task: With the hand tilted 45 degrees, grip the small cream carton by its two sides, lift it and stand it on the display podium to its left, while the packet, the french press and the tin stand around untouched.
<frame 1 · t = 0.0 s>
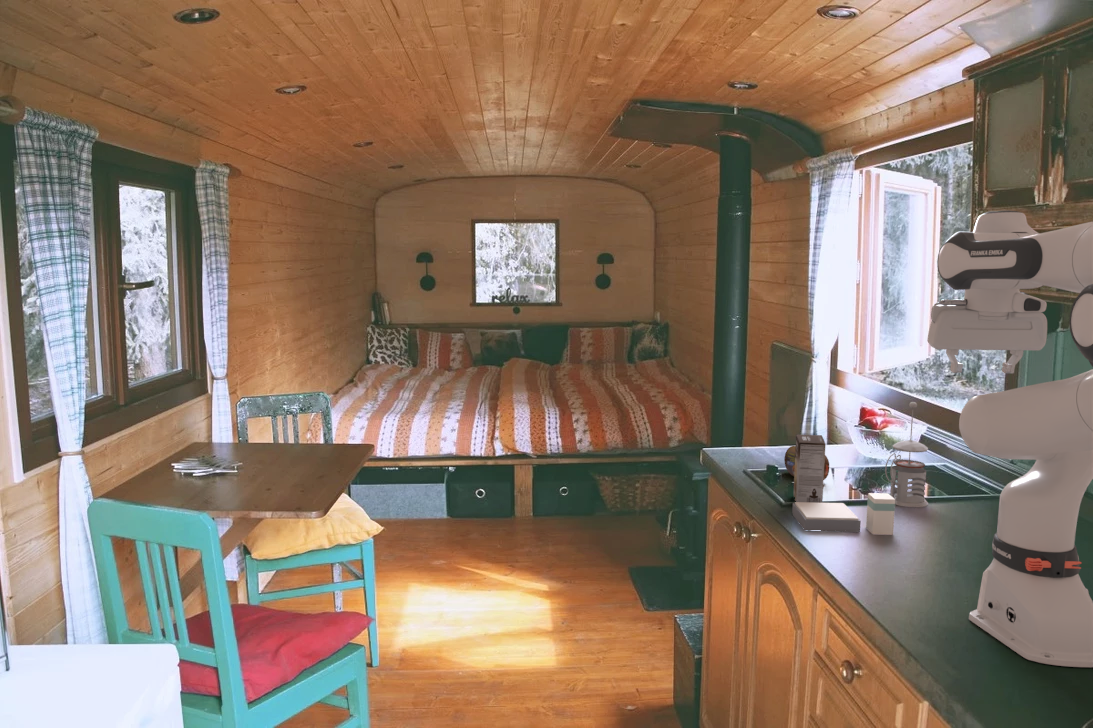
hand: (981, 372, 156), 39 cm above the counter, tool pointing down, fingers open, 8 cm apart
french press: (904, 502, 206), on the counter
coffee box: (807, 502, 205), on the counter
carton: (879, 531, 184), on the counter
tin: (806, 479, 227), on the counter
podium: (825, 522, 189), on the counter
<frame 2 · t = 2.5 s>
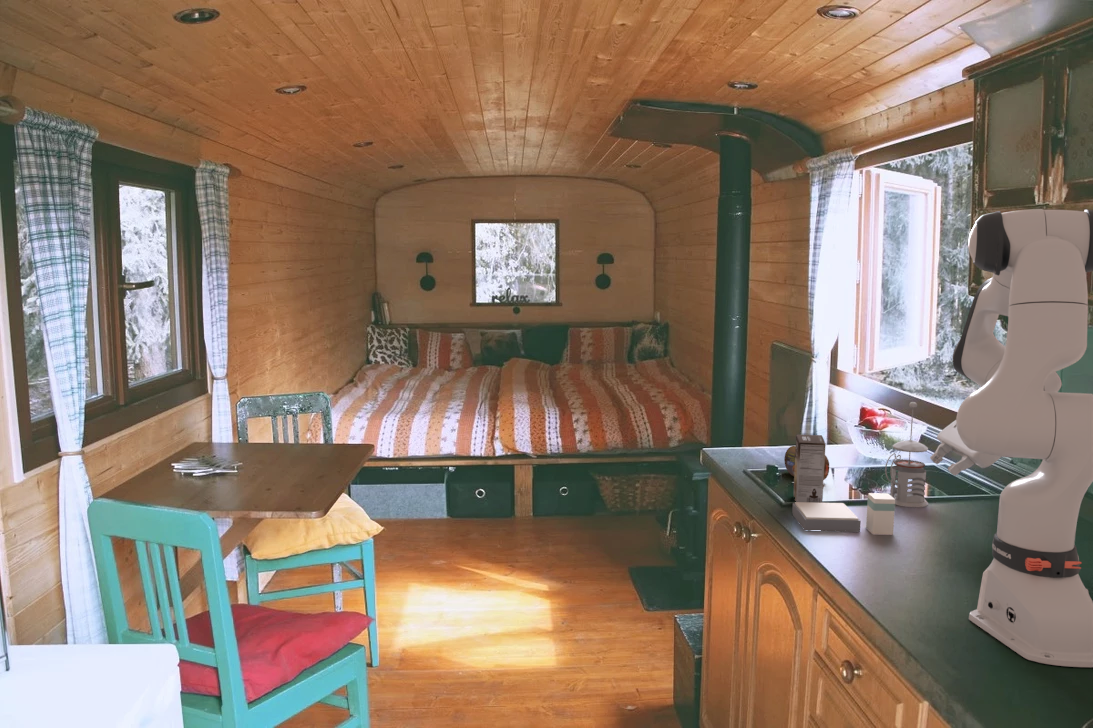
hand: (941, 466, 181), 15 cm above the counter, tool tilted 45°, fingers open, 8 cm apart
nothing on the counter moved.
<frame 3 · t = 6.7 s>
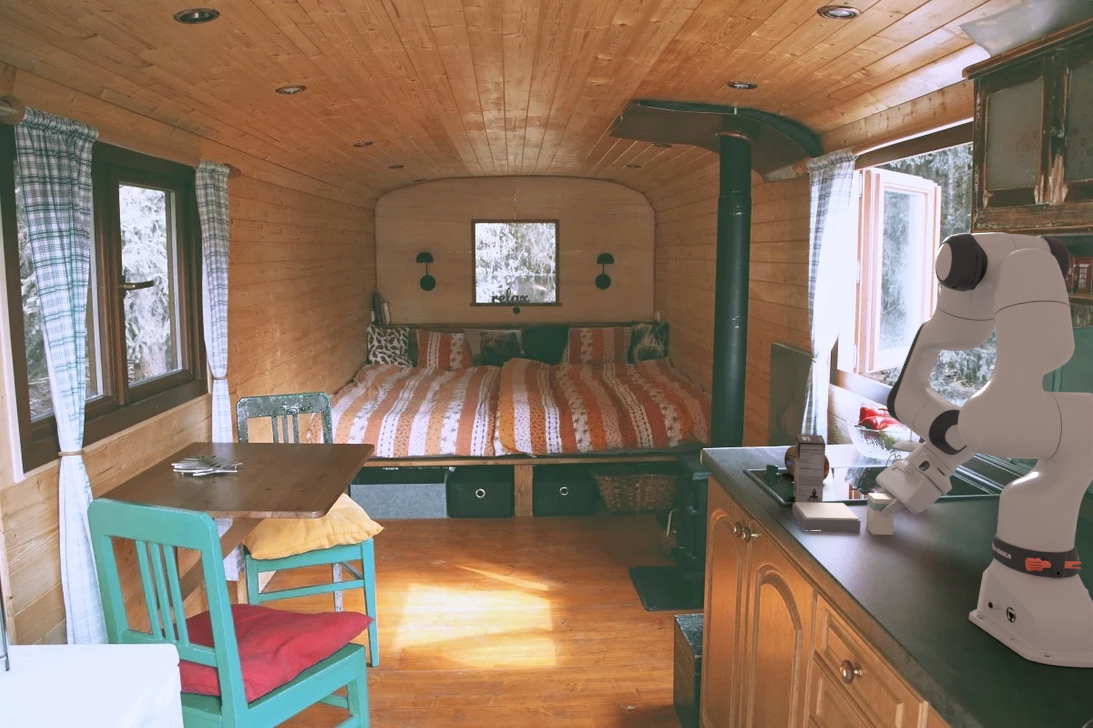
hand: (877, 510, 183), 5 cm above the counter, tool tilted 45°, fingers closed on carton, 4 cm apart
carton: (879, 531, 184), on the counter, touching gripper
everything else where it was.
when the fingers open (9 cm above the counter, at t = 11.8 s): carton drops 1 cm, resting on podium.
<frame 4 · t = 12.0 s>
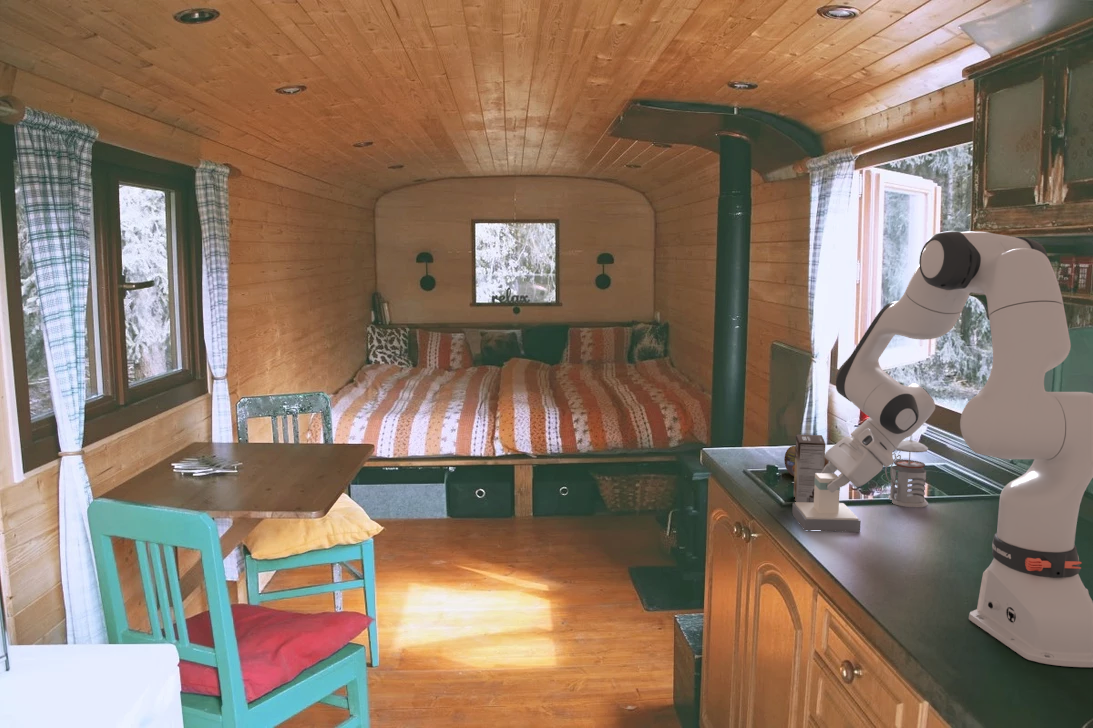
hand: (824, 484, 188), 9 cm above the counter, tool tilted 45°, fingers open, 6 cm apart
carton: (825, 510, 189), point 3 cm above the counter, touching podium
everything else where it was.
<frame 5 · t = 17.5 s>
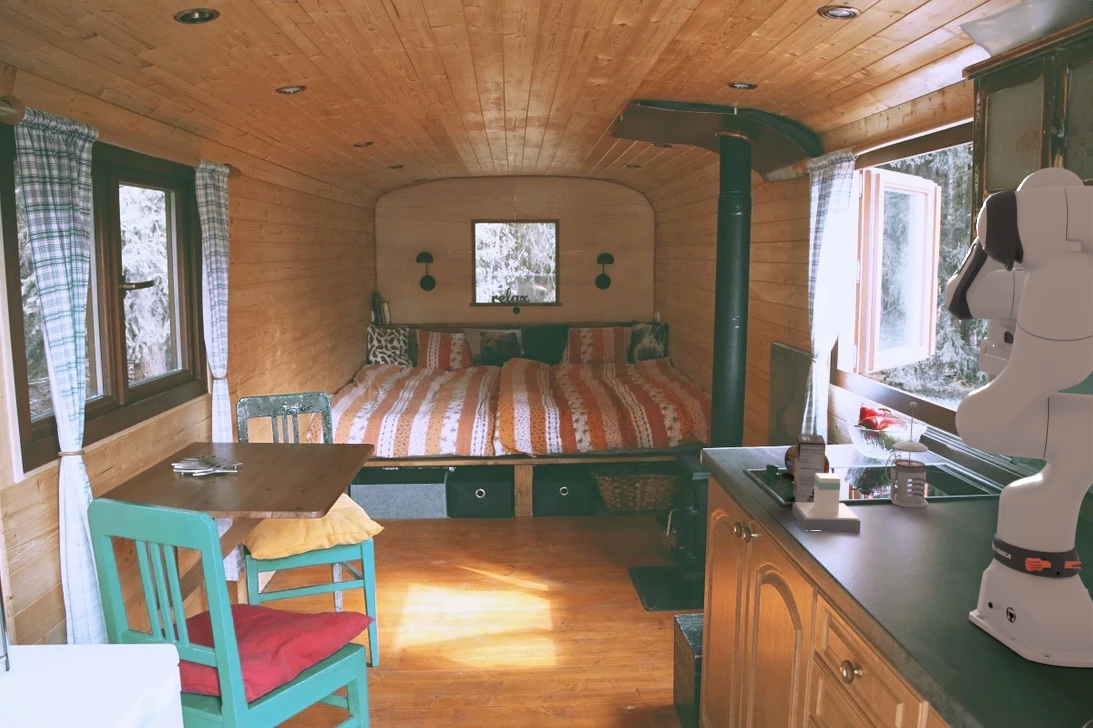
hand: (1005, 399, 171), 31 cm above the counter, tool pointing down, fingers open, 8 cm apart
nothing on the counter moved.
at the end: carton inside the target area on the podium (0.1 cm from its centre), point 3.0 cm above the podium's base; carton tilted 0°; the gripper is holding nothing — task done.
